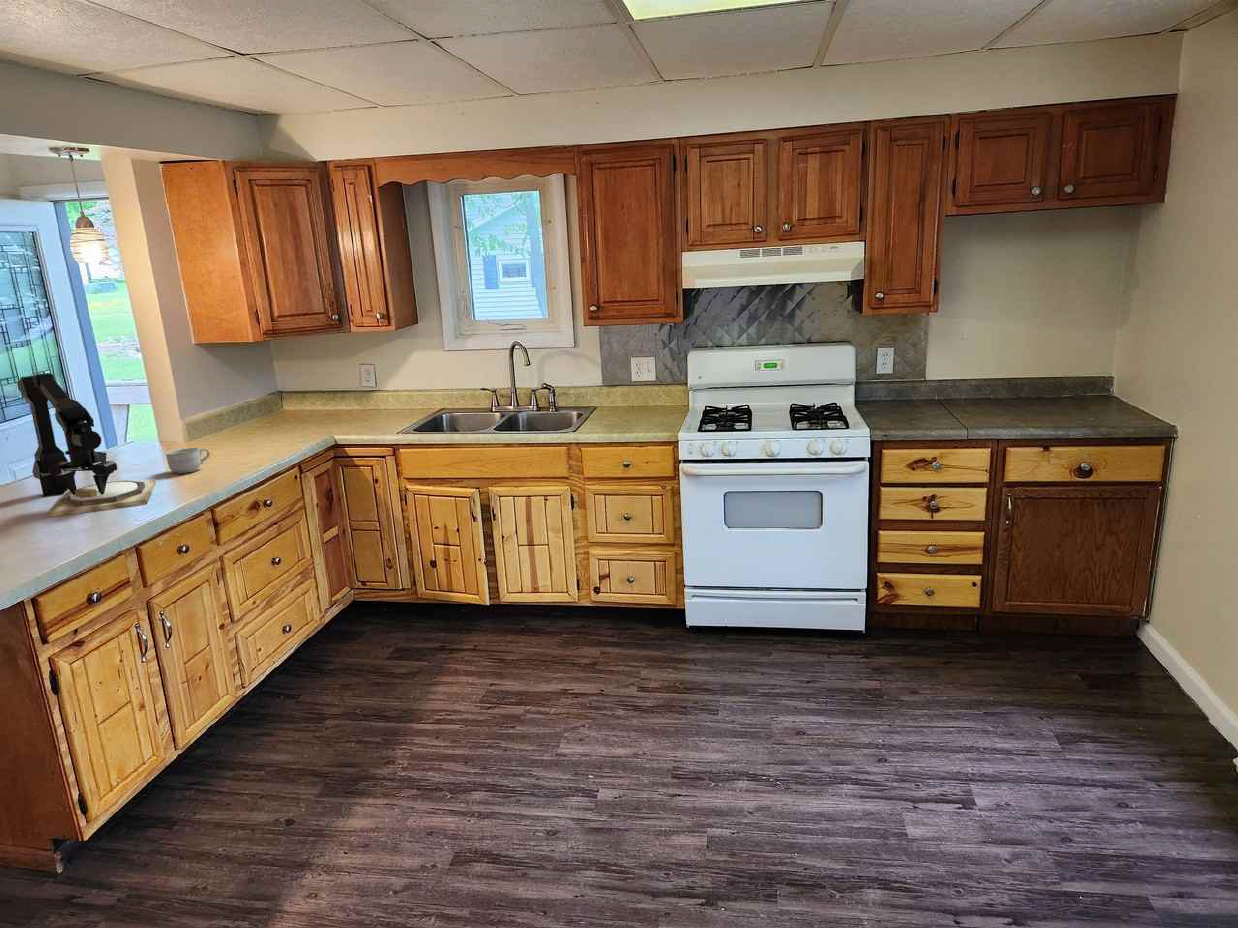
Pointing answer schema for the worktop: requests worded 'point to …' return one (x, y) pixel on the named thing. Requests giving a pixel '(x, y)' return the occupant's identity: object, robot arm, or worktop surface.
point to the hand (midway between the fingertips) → (88, 494)
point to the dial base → (103, 500)
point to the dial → (110, 491)
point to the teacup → (186, 459)
